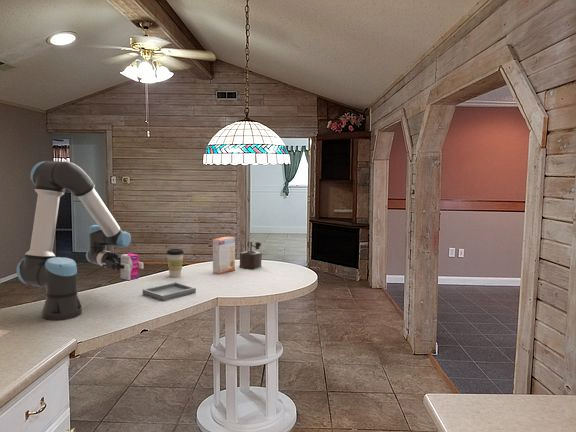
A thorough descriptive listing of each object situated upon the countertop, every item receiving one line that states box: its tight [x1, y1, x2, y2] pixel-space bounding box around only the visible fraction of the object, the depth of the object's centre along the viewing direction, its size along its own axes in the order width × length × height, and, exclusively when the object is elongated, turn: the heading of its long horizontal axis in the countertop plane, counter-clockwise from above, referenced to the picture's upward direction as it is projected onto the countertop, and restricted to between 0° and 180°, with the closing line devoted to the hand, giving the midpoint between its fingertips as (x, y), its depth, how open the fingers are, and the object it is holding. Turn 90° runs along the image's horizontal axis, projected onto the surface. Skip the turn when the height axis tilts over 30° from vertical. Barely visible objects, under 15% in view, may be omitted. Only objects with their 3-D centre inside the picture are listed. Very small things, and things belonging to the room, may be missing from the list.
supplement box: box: [119, 253, 140, 282], centre depth 208 cm, size 6×6×12 cm
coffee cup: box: [165, 248, 185, 278], centre depth 263 cm, size 10×10×15 cm
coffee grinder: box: [239, 240, 263, 270], centre depth 290 cm, size 16×11×18 cm
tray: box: [142, 281, 197, 302], centre depth 227 cm, size 20×16×2 cm
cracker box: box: [212, 235, 236, 275], centre depth 276 cm, size 14×6×21 cm, turn 144°
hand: (136, 266), depth 205 cm, fingers closed on supplement box, 6 cm apart
